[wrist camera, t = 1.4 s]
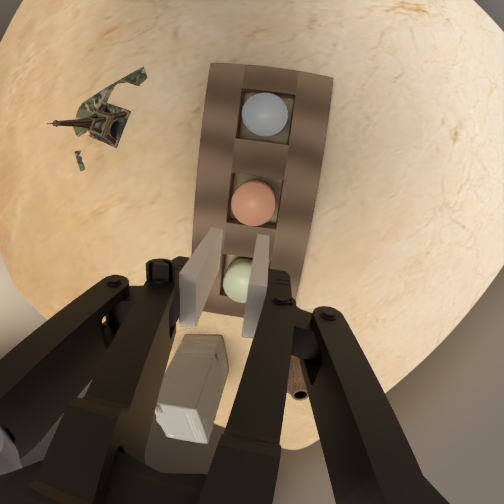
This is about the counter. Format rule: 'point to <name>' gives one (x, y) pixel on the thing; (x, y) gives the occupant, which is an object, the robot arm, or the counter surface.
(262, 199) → the button terracotta
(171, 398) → the skincare box
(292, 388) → the vase
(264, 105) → the button slate
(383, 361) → the counter surface
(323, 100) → the button board
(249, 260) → the button sage
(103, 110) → the eiffel tower figurine
